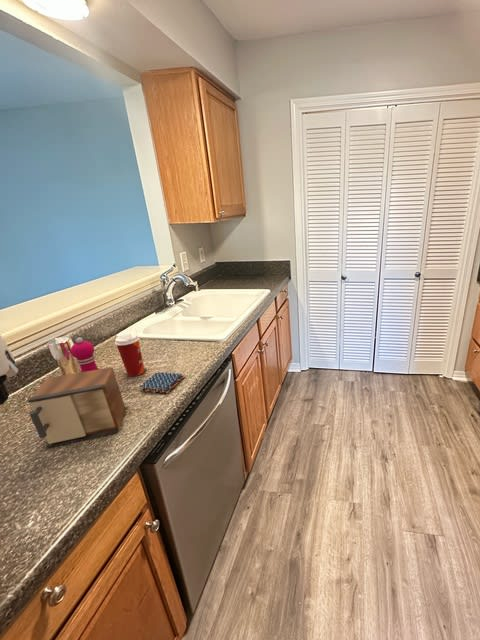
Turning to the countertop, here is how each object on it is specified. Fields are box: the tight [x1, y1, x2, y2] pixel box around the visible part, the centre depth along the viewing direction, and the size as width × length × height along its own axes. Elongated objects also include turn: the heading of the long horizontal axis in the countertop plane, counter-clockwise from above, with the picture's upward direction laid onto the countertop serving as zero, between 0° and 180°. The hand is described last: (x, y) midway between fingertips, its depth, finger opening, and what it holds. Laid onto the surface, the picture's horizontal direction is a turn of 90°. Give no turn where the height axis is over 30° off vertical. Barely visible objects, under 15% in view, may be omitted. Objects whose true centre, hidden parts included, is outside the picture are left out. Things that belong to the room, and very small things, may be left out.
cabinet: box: [27, 366, 126, 448], centre depth 87 cm, size 16×12×14 cm
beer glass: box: [47, 335, 81, 376], centre depth 112 cm, size 7×7×15 cm
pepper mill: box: [71, 337, 100, 372], centre depth 101 cm, size 7×7×20 cm
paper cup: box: [114, 333, 145, 377], centre depth 114 cm, size 8×8×14 cm
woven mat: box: [139, 371, 185, 394], centre depth 108 cm, size 10×11×2 cm
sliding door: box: [28, 395, 86, 445], centre depth 79 cm, size 8×5×13 cm, turn 108°
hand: (1, 401), depth 72 cm, fingers closed
